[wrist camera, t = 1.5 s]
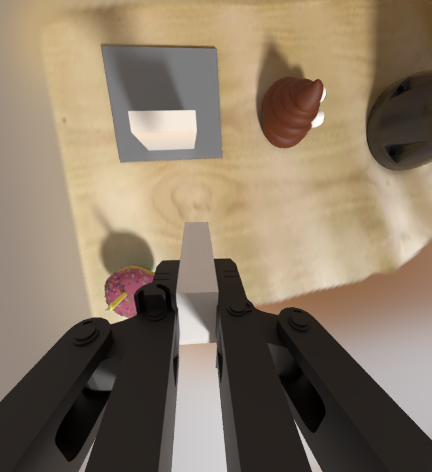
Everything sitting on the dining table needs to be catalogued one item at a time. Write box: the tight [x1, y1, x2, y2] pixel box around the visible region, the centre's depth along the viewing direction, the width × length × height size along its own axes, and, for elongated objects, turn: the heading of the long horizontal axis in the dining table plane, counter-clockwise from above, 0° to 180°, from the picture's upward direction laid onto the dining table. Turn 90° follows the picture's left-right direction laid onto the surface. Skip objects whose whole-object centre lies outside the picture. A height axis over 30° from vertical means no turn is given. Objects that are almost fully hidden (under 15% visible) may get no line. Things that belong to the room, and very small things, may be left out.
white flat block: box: [128, 110, 197, 151], centre depth 26 cm, size 7×2×10 cm, turn 93°
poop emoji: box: [262, 77, 326, 148], centre depth 29 cm, size 10×8×9 cm
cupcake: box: [104, 266, 155, 318], centre depth 30 cm, size 9×8×12 cm
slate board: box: [101, 46, 222, 163], centre depth 30 cm, size 16×15×1 cm
